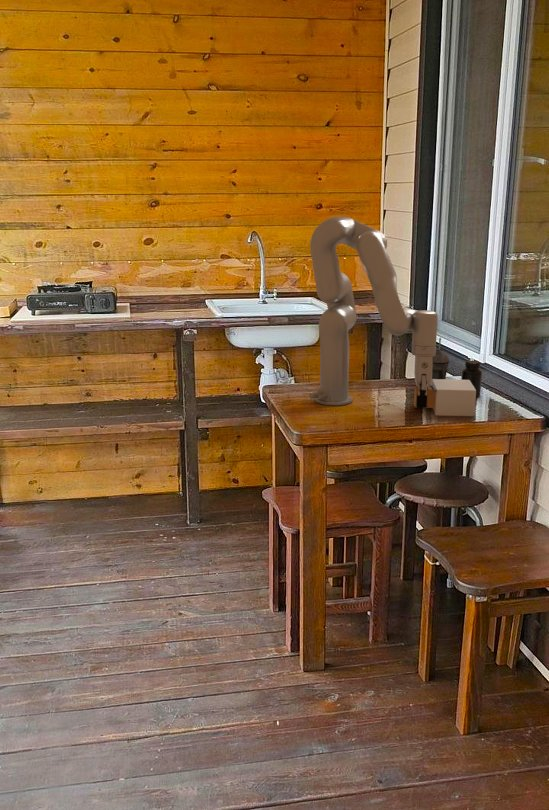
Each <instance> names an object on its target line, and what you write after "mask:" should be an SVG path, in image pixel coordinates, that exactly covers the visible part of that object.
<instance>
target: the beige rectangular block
mask: <svg viewBox="0 0 549 810" xmlns="http://www.w3.org/2000/svg"><path fill="white" fill-rule="evenodd" d="M432 388H433V390H434V392H435V400H434V408H432V410H433V413H434V415H435V416H446V417H447V416H450V417H453V416H454V417H455V416H456V417H475V412H476V411H475V410H476V399H477V398H476V389H475V388H474V386H473V385H472V383H471V381H470V380H461V379H452V378H451V379H447V378H446V379H432Z"/></svg>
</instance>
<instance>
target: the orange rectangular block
mask: <svg viewBox="0 0 549 810" xmlns="http://www.w3.org/2000/svg"><path fill="white" fill-rule="evenodd" d="M420 389H421V388H420ZM417 395H418V386H417V385H416V386H414V396H413V397H414V399H413V406H414V408H417V407H416V404H417ZM434 400H435V392H434V390H433V388H432V387H429V386H427V407H426V408H425V409H428V408H429V409H430V408H431V409H433V408H434Z"/></svg>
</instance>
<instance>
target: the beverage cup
mask: <svg viewBox="0 0 549 810" xmlns="http://www.w3.org/2000/svg"><path fill="white" fill-rule="evenodd" d="M438 339H439V340H438V349H436V355H435V356H432V361H433V366H432V379H447V371H448V367H449V363H450V360H449V356H448V353H447V352H446V351H444V350H443V349H441V342H442V337H439V338H438ZM428 387H430V386H428ZM431 387H432V386H431Z"/></svg>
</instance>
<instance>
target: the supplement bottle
mask: <svg viewBox="0 0 549 810" xmlns="http://www.w3.org/2000/svg"><path fill="white" fill-rule="evenodd" d="M464 367H465V368H463V369H462V371H461V378H460V380H470V381H471V383H472V385H473V386H474V388H475V389H476V399H478V398H479V397H481V392H482V380H483V371H482V370H481V369H480V368H481V361H478V360H466V361H465V366H464Z"/></svg>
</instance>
